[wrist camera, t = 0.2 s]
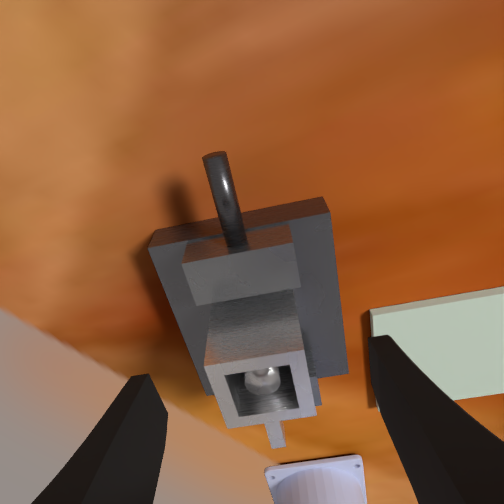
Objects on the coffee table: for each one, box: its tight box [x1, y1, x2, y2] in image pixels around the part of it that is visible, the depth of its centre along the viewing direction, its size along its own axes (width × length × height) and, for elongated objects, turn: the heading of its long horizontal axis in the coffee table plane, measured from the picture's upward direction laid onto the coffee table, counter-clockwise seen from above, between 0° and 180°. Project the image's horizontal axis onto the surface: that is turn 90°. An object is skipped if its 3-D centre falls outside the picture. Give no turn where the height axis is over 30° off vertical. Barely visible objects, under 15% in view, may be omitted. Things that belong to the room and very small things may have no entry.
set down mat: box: [370, 287, 504, 411], centre depth 25 cm, size 9×9×1 cm
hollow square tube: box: [204, 289, 317, 449], centre depth 19 cm, size 6×4×5 cm
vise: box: [148, 151, 349, 406], centre depth 19 cm, size 15×9×6 cm, turn 12°
